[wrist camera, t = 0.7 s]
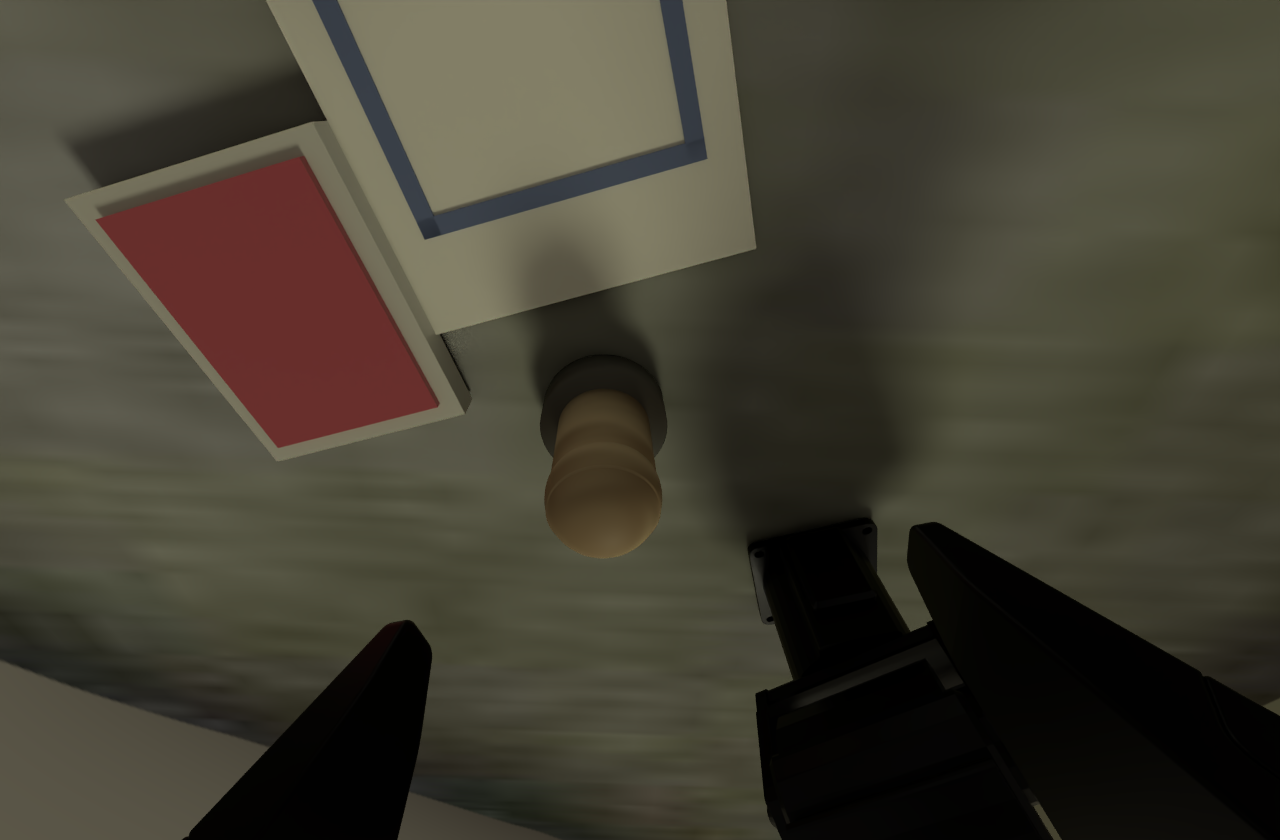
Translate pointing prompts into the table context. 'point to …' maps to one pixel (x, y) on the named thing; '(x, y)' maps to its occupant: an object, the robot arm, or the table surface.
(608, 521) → the stamp
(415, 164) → the paper
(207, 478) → the table surface
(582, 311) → the table surface
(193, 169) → the ink pad
